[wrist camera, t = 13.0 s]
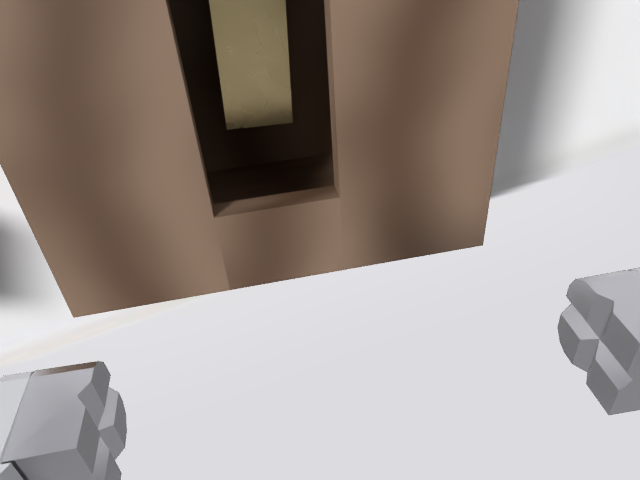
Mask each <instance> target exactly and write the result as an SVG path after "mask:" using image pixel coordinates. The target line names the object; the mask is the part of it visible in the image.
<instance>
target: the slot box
mask: <svg viewBox="0 0 640 480" xmlns="http://www.w3.org/2000/svg"><path fill="white" fill-rule="evenodd" d="M518 4H519V0H286V17H287V34H288V50H289V67H290V84H291V100H292V117H293V123H287V124H277V125H268V126H258V127H248V128H239V129H229V130H227V127H226V120H225V113H224V106H223V98H222V91H221V84H220V77H219V70H218V62H217V55H216V48H215V41H214V34H213V26H212V19H211V12H210V5H209V0H0V165H1V167H2V169H3V171H4V173H5V175H6V177H7V179H8V181H9V183H10V185H11V188H12V190H13V192H14V194H15V196H16V198H17V200H18V202H19V204H20V206H21V209H22V211H23V213H24V215H25V217H26V219H27V221H28V223H29V225H30V227H31V229H32V232H33V234H34V236H35V238H36V240H37V242H38V244H39V246H40V248H41V250H42V253H43V255H44V257H45V259H46V261H47V263H48V265H49V267H50V269H51V271H52V273H53V276H54V278H55V280H56V282H57V284H58V286H59V288H60V290H61V292H62V294H63V296H64V299H65V301H66V303H67V305H68V307H69V309H70V311H71V313H72V315H73V317H80V316H85V315H91V314H97V313H102V312H108V311H114V310H119V309H125V308H131V307H136V306H142V305H148V304H153V303H159V302H164V301H170V300H176V299H181V298H187V297H193V296H198V295H204V294H210V293H215V292H221V291H227V290H232V289H238V288H244V287H249V286H255V285H261V284H266V283H272V282H278V281H283V280H289V279H295V278H300V277H305V276H311V275H317V274H323V273H328V272H334V271H340V270H345V269H351V268H357V267H362V266H368V265H373V264H379V263H385V262H391V261H396V260H402V259H407V258H413V257H419V256H425V255H430V254H436V253H441V252H446V251H452V250H458V249H464V248H470V247H475V246H481V245H483V241H484V234H485V227H486V220H487V214H488V207H489V200H490V193H491V187H492V180H493V173H494V166H495V160H496V153H497V146H498V139H499V133H500V126H501V119H502V112H503V105H504V99H505V92H506V85H507V78H508V72H509V65H510V58H511V51H512V45H513V38H514V31H515V24H516V17H517V11H518Z"/></svg>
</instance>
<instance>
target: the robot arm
mask: <svg viewBox="0 0 640 480" xmlns="http://www.w3.org/2000/svg"><path fill="white" fill-rule="evenodd" d="M566 296H567V298H568V299H569V300H570V302H571V304H570V305H569V306H568V307H567V308H566V309H565V310H564V311H563V312H562V313H561V316H560V320H559V324H558V333H559V339H560V343H561V346H562V348H563V350H564V353H565V354H566V356H567V357H568V358H569V360H570V361H571V363H572V364H573V365H575V366H577V367H579V368H580V369H583V370H584V371H586V372H587V382H586V384H587V386H588V387H589V388H590V390H591V391H592V392H593V394H594V395H595V397H596V398H597V399H598V401H599V402H600V404H601V405H602V406H603V408H604V409H605V411H606V412H607V414H608V415H613V414H619V413H624V412H630V411H636V410H640V268H636V269H630V270H624V271H618V272H612V273H607V274H602V275H596V276H591V277H585V278H580V279H575V280H574V281H573V282H572V283H571V284H570V285H569V289H568V292H567V295H566ZM109 381H110V373H109V371H108V369H107V367H106V365H105V364H104V362H100V361H97V362H90V363H83V364H76V365H70V366H63V367H56V368H49V369H43V370H36V371H33V372H26V373H19V374H12V375H5V376H3V377H2V378H1V379H0V480H121V471H120V469H119V467H118V466H117V464H116V462H115V459H116V458H117V457H118V456H119V454H120V453H121V452H122V451H123V449H124V448H125V442H126V433H127V428H126V413H125V409H124V405H123V401H122V399H121V396H120V394H119V393H118V392H117V391H115V390H114V389H111V388H110V387H109Z"/></svg>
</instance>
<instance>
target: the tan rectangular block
mask: <svg viewBox="0 0 640 480" xmlns="http://www.w3.org/2000/svg"><path fill="white" fill-rule="evenodd" d="M209 5H210V12H211V19H212V26H213V34H214V41H215V48H216V55H217V62H218V70H219V77H220V84H221V91H222V98H223V106H224V113H225V120H226V127H227V130H229V129H239V128H248V127H258V126H268V125H277V124H287V123H293V117H292V100H291V84H290V67H289V50H288V34H287V17H286V0H209Z"/></svg>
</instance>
